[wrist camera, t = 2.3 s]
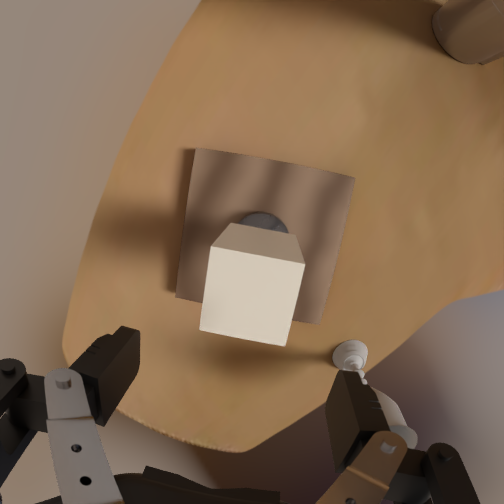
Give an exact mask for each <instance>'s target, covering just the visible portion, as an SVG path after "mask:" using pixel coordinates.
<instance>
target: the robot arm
mask: <svg viewBox="0 0 504 504" xmlns="http://www.w3.org/2000/svg"><path fill="white" fill-rule="evenodd" d="M432 27H433V31H434V34H435V36H436V38H437V40H438V42H439V43H440V45H441V46H442V47H443V48H444V49H445V51H446V52H447V53H448V54H450V55H451V56H452V57H453V58H455V59H456V60H458V61H460V62H462V63H466V64H475V63H481V64H483V65H485V64H487V63H489V62H492V61H494V60H496V59H499V58H501V57H503V56H504V0H448V1H447V2H446V3H445V4H444V5H443V6H442V7H440V8H439V10H437V11H436V12H435V13H434V16H433V18H432ZM139 365H140V331H139V330H136V329H132V328H129V327H125V326H121V327H120V328H119V329H118V330H117V331H116V332H115V333H114V334H113V335H110V334H106V335H104V336H101V337H99V338H97V339H96V340H95V341H94V342H93V343H92V344H91V346H89V348H88V349H87V350H86V352H84V353H83V354H82V355H81V356H80V357H79V358H78V359H77V360H76V361H75V362H74V363H73V364H72V365H71V366H70V367H69V368H68V369H67V368H59V369H55V370H52V371H50V372H49V373H48V374H47V375H46V376H45V377H43V376H37V375H32V374H27V373H26V368H25V366H24V364H23V363H22V362H21V361H19V360H16V359H11V358H9V359H2V360H0V417H1V416H2V415H3V413H4V412H6V413H5V414H4V415H3V416H2V417H1V419H0V487H1V486H2V484H3V483H4V481H5V480H6V478H7V477H8V475H9V473H10V472H11V470H12V469H13V467H14V466H15V464H16V463H17V461H18V460H19V458H20V457H21V455H22V454H23V452H24V451H25V449H26V447H27V446H28V445H29V443H30V442H31V440H32V439H33V438H34V436H35V435H36V433H37V432H38V431H41V432H46V433H48V436H49V442H50V448H51V454H52V459H53V464H54V469H55V473H56V478H57V482H58V486H59V490H60V494H61V495H60V496H57V497H54V498H51V499H49V500H45V501H43V502H39V503H36V504H288V503H286V502H283V501H280V492H277V491H267V490H258V489H251V488H235V489H211V488H207V487H205V486H203V485H200V484H198V483H196V482H193V481H191V480H189V479H187V478H184V477H182V476H180V475H178V474H174V473H171V472H167V471H163V470H160V469H156V468H153V467H149V466H146V467H145V469H144V472H143V474H141V473H125V474H118V475H114V476H113V474H112V472H111V469H110V466H109V463H108V460H107V458H106V455H105V452H104V449H103V446H102V443H101V440H100V437H99V434H98V431H97V428H96V424H98V425H101V426H103V427H104V426H105V425H106V423H107V421H108V420H109V418H110V416H111V415H112V413H113V412H114V410H115V409H116V407H117V405H118V404H119V402H120V401H121V399H122V397H123V396H124V394H125V393H126V391H127V390H128V388H129V386H130V385H131V383H132V382H133V380H134V379H135V377H136V375H137V373H138V370H139ZM381 408H382V407H381V405H380V403H379V400H378V397H377V395H376V393H375V391H374V390H373V389H372V388H371V387H370V386H369V385H367V384H363V383H362V380H361V378H360V375H359V373H358V372H356V371H347V370H339V371H338V373H337V375H336V378H335V380H334V383H333V386H332V388H331V391H330V393H329V396H328V398H327V401H326V407H325V414H326V419H327V425H328V431H329V437H330V443H331V449H332V454H333V460H334V467H335V472H336V473H342V474H341V475H340V476H339V478H338V479H337V480H336V481H335V482H334V484H333V485H332V486H331V487H330V488H329V490H327V492H326V493H325V494H324V495H323V496H322V497H321V498H320V499H319V501H318V502H317V503H316V504H380V502H381V501H382V499H386V500H391V501H393V502H394V504H480V502H479V499H478V497H477V494H476V492H475V490H474V487H473V485H472V483H471V480H470V478H469V476H468V473H467V471H466V469H465V466H464V464H463V462H462V460H461V458H460V455H459V453H458V452H457V451H456V450H455V449H454V448H453V447H452V446H450V445H448V444H445V443H435V444H432V445H431V446H430V447H429V449H428V450H427V451H426V452H425V451H420V450H415V449H411V448H408V447H407V443H406V441H405V440H404V439H403V438H402V437H401V436H400V435H398V434H396V433H394V432H391V430H390V428H389V425H388V423H387V420H386V418H385V415H384V412H383V410H381ZM431 497H432V500H433V503H432V500H431ZM0 504H2V496H1V493H0Z"/></svg>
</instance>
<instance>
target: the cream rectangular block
mask: <svg viewBox="0 0 504 504" xmlns="http://www.w3.org/2000/svg"><path fill="white" fill-rule="evenodd" d="M304 268H305V262H304V259H303V256H302V253H301V250H300V247H299V244H298V241H297V238H296V235H293V234H288V233H283V232H278V231H273V230H267V229H262V228H257V227H252V226H246V225H241V224H235V223H230V224H229V225H228V227H227V228H226V229H225V230H224V231H223V232H222V234H221V235H220V236H219V237H218V238H217V239H216V241H215V242H214V243H213V244H212V245H211V249H210V255H209V262H208V269H207V276H206V283H205V290H204V297H203V305H202V312H201V320H200V328H199V330H202V331H207V332H212V333H216V334H221V335H226V336H231V337H236V338H241V339H246V340H252V341H257V342H263V343H268V344H274V345H280V346H285V344H286V341H287V337H288V333H289V329H290V325H291V321H292V317H293V313H294V309H295V305H296V301H297V297H298V293H299V289H300V285H301V281H302V277H303V272H304Z"/></svg>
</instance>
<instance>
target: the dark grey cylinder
mask: <svg viewBox="0 0 504 504" xmlns="http://www.w3.org/2000/svg"><path fill="white" fill-rule="evenodd" d="M238 224H241V225H246V226H252V227H257V228H262V229H267V230H273V231H278V232H283V233H288V234H289V232H288V229H287V227H286V225H285V224H284V222H283V221H282V220H281V219H280V218H278V217H277V216H275V215H274V214H271V213H268V212H254V213H251V214H248V215H247V216H245V217H244V218H242V219H241V220H240V221H239V223H238Z"/></svg>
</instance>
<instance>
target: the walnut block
mask: <svg viewBox="0 0 504 504" xmlns="http://www.w3.org/2000/svg"><path fill="white" fill-rule="evenodd" d="M354 182H355V178H354V177H350V176H346V175H342V174H337V173H333V172H329V171H324V170H320V169H315V168H310V167H306V166H301V165H296V164H291V163H286V162H281V161H276V160H270V159H265V158H259V157H253V156H248V155H242V154H236V153H229V152H223V151H216V150H209V149H202V148H196V150H195V156H194V162H193V168H192V174H191V180H190V186H189V193H188V199H187V206H186V213H185V220H184V227H183V235H182V243H181V251H180V259H179V268H178V276H177V286H176V295H175V297H177V298H181V299H186V300H190V301H195V302H200V303H203V297H204V290H205V283H206V276H207V269H208V262H209V255H210V249H211V245H212V244H213V243H214V242H215V241H216V239H217V238H218V237H219V236H220V235H221V234H222V232H223V231H224V230H225V229H226V228H227V227H228V225H229V224H230V223H235V224H238V223H239V221H240V220H241V219H242V218H244V217H245V216H247V215H248V214H251V213H254V212H268V213H271V214H274V215H275V216H277V217H278V218H280V219H281V220H282V221H283V222H284V224H285V225H286V227H287V229H288V232H289V234H293V235H296V238H297V241H298V244H299V247H300V250H301V253H302V256H303V259H304V262H305V268H304V272H303V277H302V281H301V285H300V289H299V293H298V297H297V301H296V305H295V309H294V313H293V317H292V320H293V321H299V322H305V323H311V324H317V325H320V322H321V318H322V315H323V311H324V307H325V304H326V300H327V297H328V293H329V289H330V285H331V282H332V278H333V274H334V270H335V266H336V262H337V258H338V254H339V250H340V246H341V241H342V237H343V233H344V229H345V224H346V220H347V215H348V211H349V206H350V201H351V196H352V192H353V187H354Z"/></svg>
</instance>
